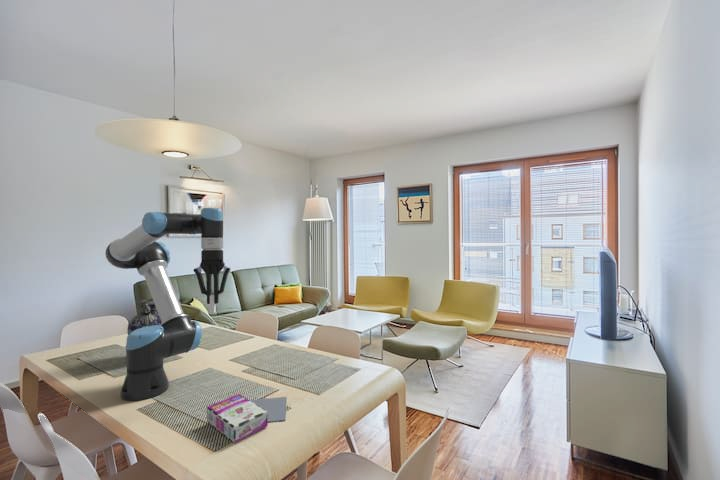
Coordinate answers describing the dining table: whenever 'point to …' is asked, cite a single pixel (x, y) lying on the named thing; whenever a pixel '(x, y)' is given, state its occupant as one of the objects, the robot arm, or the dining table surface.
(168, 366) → the dining table surface
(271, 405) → the mat
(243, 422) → the candy bar box
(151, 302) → the decorative vase
